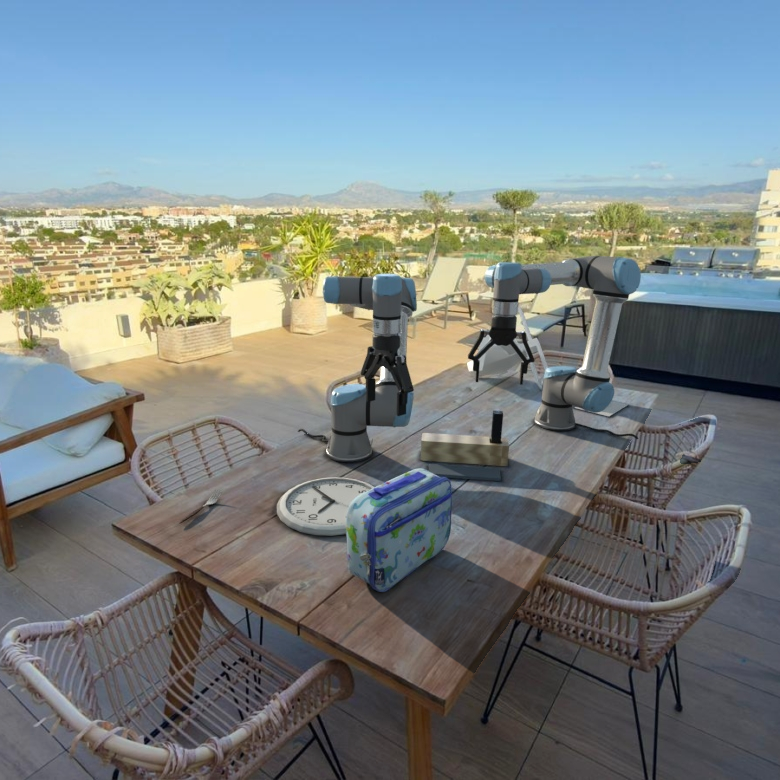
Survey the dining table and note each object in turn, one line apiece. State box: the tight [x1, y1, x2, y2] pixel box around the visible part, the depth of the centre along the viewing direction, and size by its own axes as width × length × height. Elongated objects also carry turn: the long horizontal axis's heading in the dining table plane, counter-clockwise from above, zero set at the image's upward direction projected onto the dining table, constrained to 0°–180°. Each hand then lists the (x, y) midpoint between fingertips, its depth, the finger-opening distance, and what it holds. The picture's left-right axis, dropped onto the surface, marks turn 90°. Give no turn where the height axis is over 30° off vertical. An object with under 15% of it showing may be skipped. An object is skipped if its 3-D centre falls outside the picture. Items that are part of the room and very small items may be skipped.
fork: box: [178, 489, 223, 525], centre depth 139 cm, size 3×16×2 cm, turn 160°
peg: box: [490, 410, 504, 444], centre depth 169 cm, size 3×3×17 cm
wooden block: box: [420, 432, 510, 467], centre depth 172 cm, size 28×7×7 cm, turn 83°
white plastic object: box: [466, 306, 549, 390], centre depth 259 cm, size 37×45×31 cm
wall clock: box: [276, 476, 376, 537], centre depth 142 cm, size 30×2×30 cm
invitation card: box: [573, 400, 629, 418], centre depth 226 cm, size 21×1×15 cm
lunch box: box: [345, 467, 453, 593], centre depth 115 cm, size 26×11×21 cm, turn 135°
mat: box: [428, 463, 502, 482], centre depth 162 cm, size 22×7×1 cm, turn 83°
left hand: (385, 407), depth 147 cm, fingers open, 13 cm apart
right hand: (498, 382), depth 164 cm, fingers open, 13 cm apart
